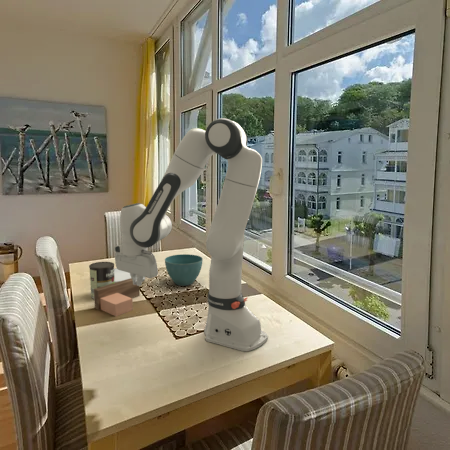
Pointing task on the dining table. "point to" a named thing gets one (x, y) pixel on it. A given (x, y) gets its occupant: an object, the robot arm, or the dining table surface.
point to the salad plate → (122, 275)
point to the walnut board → (116, 291)
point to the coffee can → (101, 275)
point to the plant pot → (183, 268)
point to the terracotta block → (116, 304)
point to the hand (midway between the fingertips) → (137, 285)
